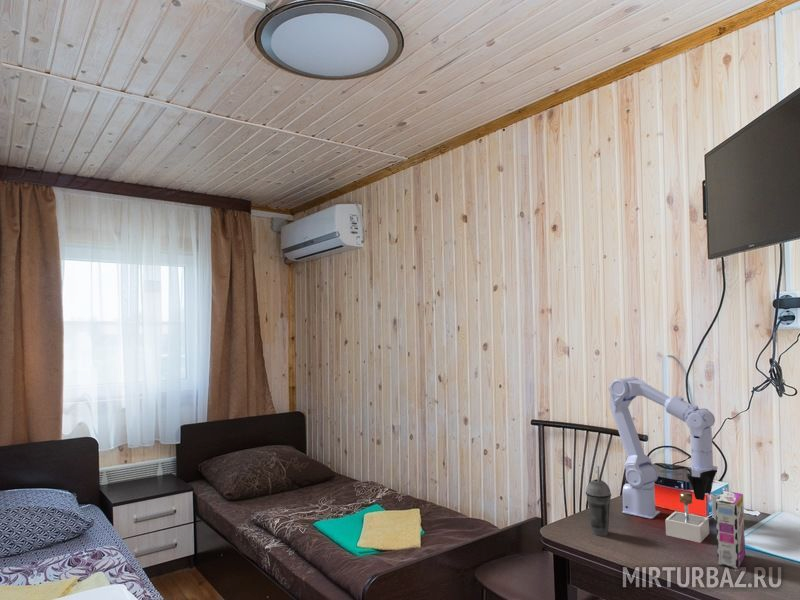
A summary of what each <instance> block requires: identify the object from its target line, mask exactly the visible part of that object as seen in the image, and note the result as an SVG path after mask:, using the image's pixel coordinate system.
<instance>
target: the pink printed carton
mask: <svg viewBox="0 0 800 600" xmlns="http://www.w3.org/2000/svg"><path fill="white" fill-rule="evenodd" d="M719 495H720V496H719V497H718V498H717V499H716V520H715V521H716V544H717V545H716V547H717V548H716V549H717V552H716V553H717V554H716V555H717V565H718V566H722V567H726V568H729V569H730V568H731V569H734V570H740V567H741V564H742V562H743V560H744V559H745V556H746V543H745V542H746V540H745V514H744V513H745V510H744V509H745V508H744V494H743V493H738V492H733V491H726V490H723V491H722V492H721V493H720V494H719Z"/></svg>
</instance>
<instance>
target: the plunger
mask: <svg viewBox="0 0 800 600" xmlns="http://www.w3.org/2000/svg"><path fill="white" fill-rule="evenodd" d="M679 502H680V503H682V504H684V506H683V507H684V513H685V515H683V514H677V515H675V516H674V517H673V518H672V519H671V520H674V521H678V522H683V523H688V524H693V525H699V524H700V523H701V522H702V521H703V520H704V519H703V518H698V517H693V516H689V514H690V510H689V505H691V504H693V494H692V493H690V492H688V491H687V492H685V491H683V492H679Z"/></svg>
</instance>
